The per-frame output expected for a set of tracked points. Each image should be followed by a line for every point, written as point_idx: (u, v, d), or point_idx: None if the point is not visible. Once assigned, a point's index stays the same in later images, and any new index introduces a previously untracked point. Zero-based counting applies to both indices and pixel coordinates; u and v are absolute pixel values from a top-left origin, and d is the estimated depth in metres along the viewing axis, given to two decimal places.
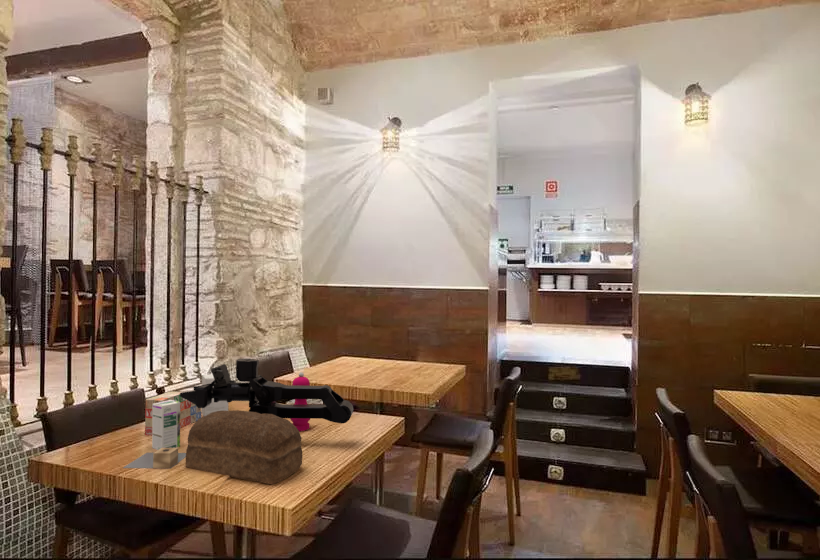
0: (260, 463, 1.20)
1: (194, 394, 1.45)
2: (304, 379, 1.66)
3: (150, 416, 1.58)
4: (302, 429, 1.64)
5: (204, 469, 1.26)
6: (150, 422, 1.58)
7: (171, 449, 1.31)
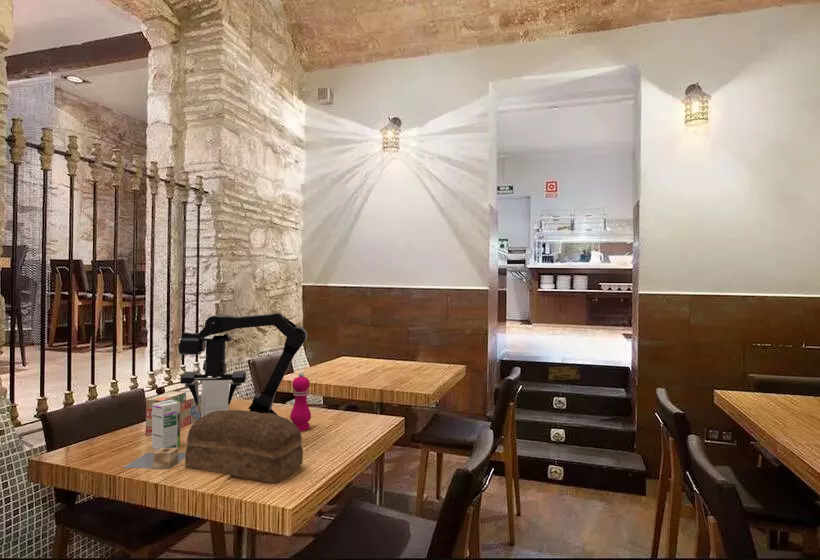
0: (262, 462, 1.21)
1: None
2: (304, 379, 1.66)
3: (151, 416, 1.58)
4: (302, 429, 1.64)
5: (204, 469, 1.26)
6: (151, 421, 1.58)
7: (171, 449, 1.31)
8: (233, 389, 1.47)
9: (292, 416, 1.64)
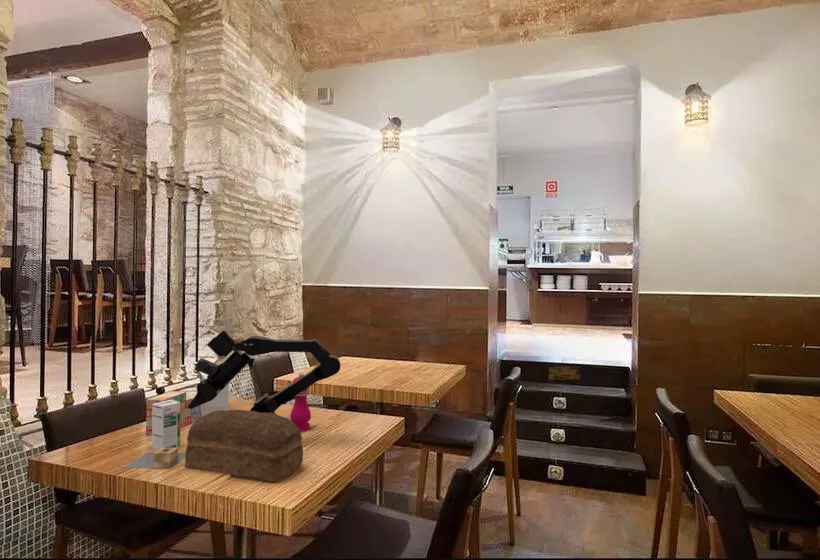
0: (263, 461, 1.21)
1: (199, 396, 1.41)
2: None
3: (151, 416, 1.58)
4: (302, 429, 1.64)
5: (205, 468, 1.27)
6: (151, 421, 1.58)
7: (171, 449, 1.31)
8: None
9: (292, 416, 1.64)
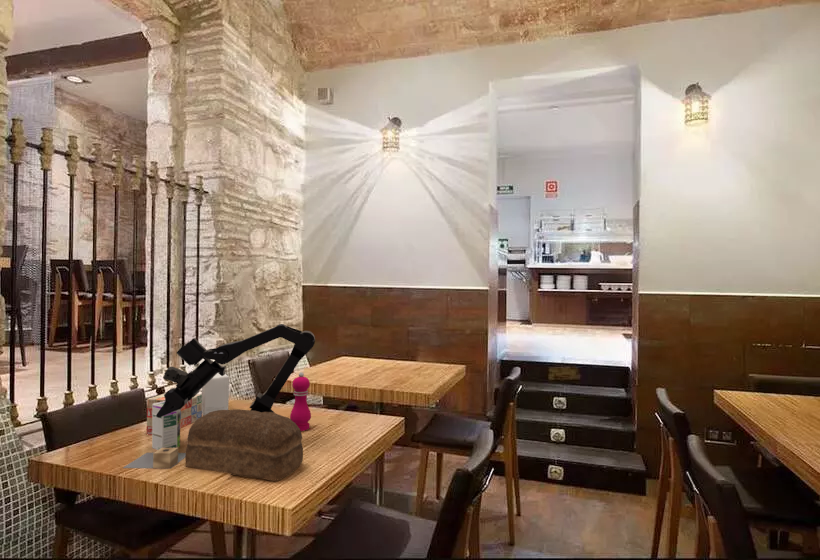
0: (264, 460, 1.22)
1: (168, 404, 1.40)
2: (304, 379, 1.66)
3: None
4: (302, 429, 1.64)
5: (205, 468, 1.27)
6: None
7: (171, 449, 1.31)
8: None
9: (292, 416, 1.64)
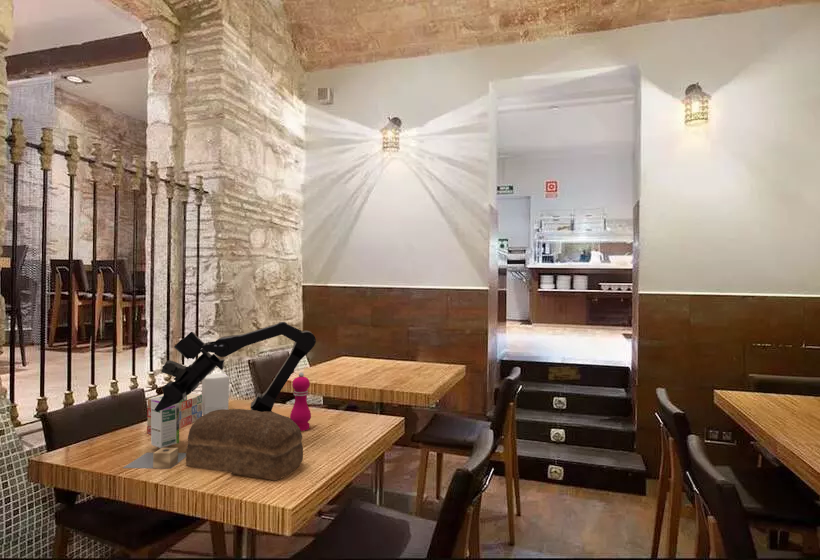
0: (264, 460, 1.22)
1: (166, 398, 1.38)
2: (304, 379, 1.66)
3: None
4: (302, 429, 1.64)
5: (206, 467, 1.27)
6: None
7: (171, 449, 1.31)
8: None
9: (292, 416, 1.64)
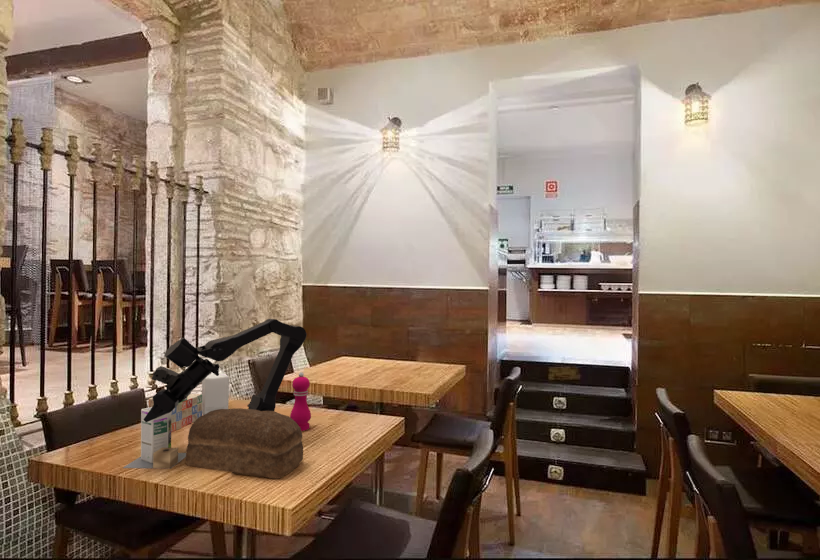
0: (265, 459, 1.23)
1: (156, 407, 1.30)
2: (304, 379, 1.66)
3: None
4: (302, 429, 1.64)
5: (206, 467, 1.28)
6: None
7: (171, 449, 1.31)
8: None
9: (292, 416, 1.64)
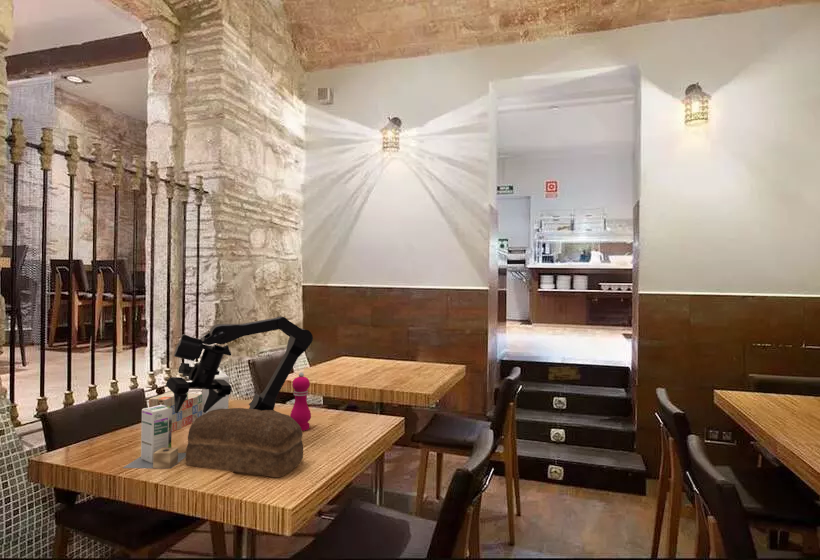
0: (267, 457, 1.24)
1: (177, 396, 1.38)
2: (304, 379, 1.66)
3: None
4: (302, 429, 1.64)
5: (207, 466, 1.28)
6: None
7: (171, 449, 1.31)
8: (218, 400, 1.46)
9: (292, 416, 1.64)
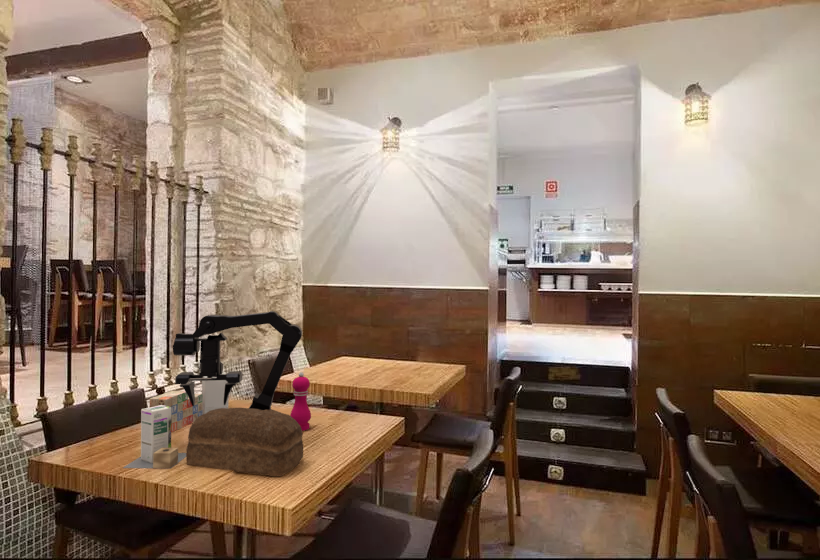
0: (267, 457, 1.25)
1: None
2: (304, 379, 1.66)
3: None
4: (302, 429, 1.64)
5: (207, 465, 1.29)
6: None
7: (171, 449, 1.31)
8: (228, 389, 1.46)
9: (292, 416, 1.64)
